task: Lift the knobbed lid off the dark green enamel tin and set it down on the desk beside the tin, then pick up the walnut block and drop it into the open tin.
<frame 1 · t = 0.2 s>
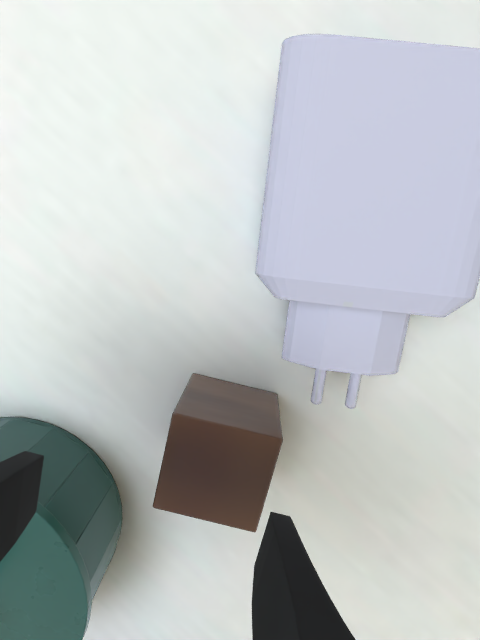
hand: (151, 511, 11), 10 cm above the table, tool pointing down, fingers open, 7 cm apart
tin: (27, 505, 23), on the table
charger: (345, 252, 19), on the table
block: (225, 421, 21), on the table
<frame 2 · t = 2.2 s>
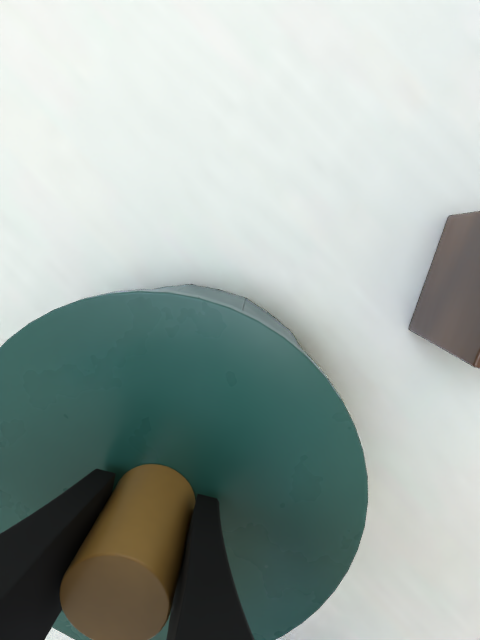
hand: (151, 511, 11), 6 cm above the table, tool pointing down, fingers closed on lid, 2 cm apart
tin: (189, 414, 17), on the table
lid: (159, 489, 12), point 5 cm above the table, touching gripper, tin
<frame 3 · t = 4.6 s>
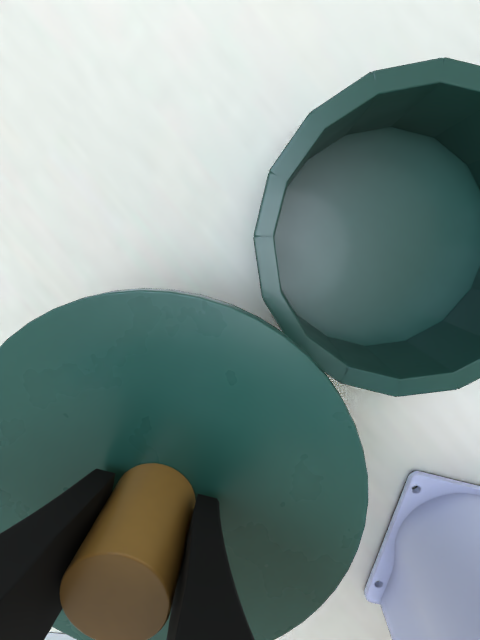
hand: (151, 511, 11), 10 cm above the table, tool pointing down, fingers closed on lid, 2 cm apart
tin: (374, 243, 19), on the table
lid: (159, 488, 12), point 9 cm above the table, touching gripper
when the fingers open (2 cm above the table, at t = 7.1 s): lid stays where it is, point 1 cm above the table.
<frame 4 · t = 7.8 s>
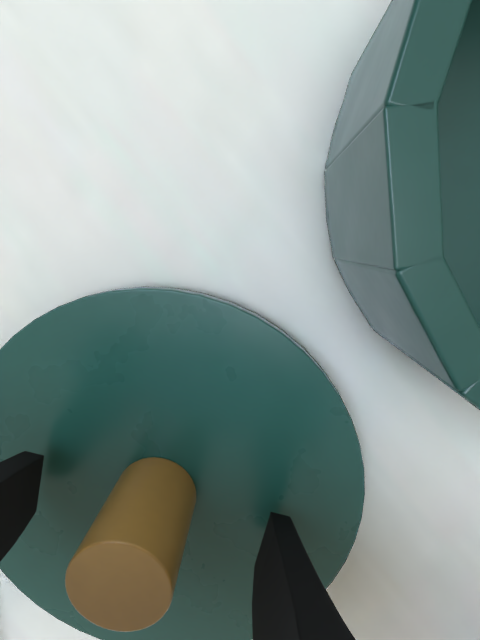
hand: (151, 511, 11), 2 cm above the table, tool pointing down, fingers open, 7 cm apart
lid: (161, 482, 12), point 1 cm above the table
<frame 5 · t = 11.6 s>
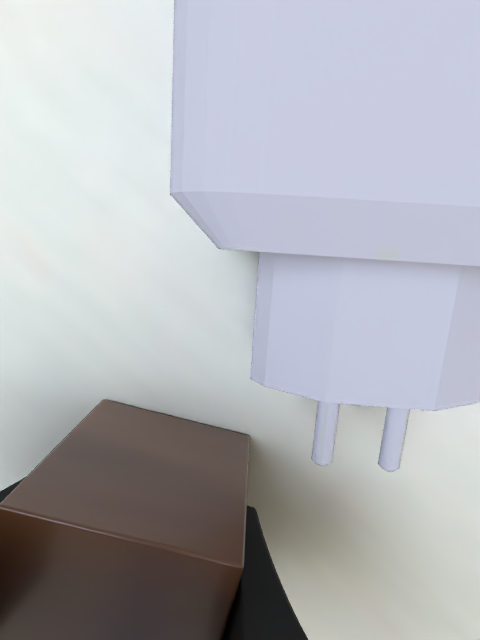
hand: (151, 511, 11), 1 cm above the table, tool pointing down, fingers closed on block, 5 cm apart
charger: (364, 176, 10), on the table
block: (162, 481, 12), on the table, touching gripper
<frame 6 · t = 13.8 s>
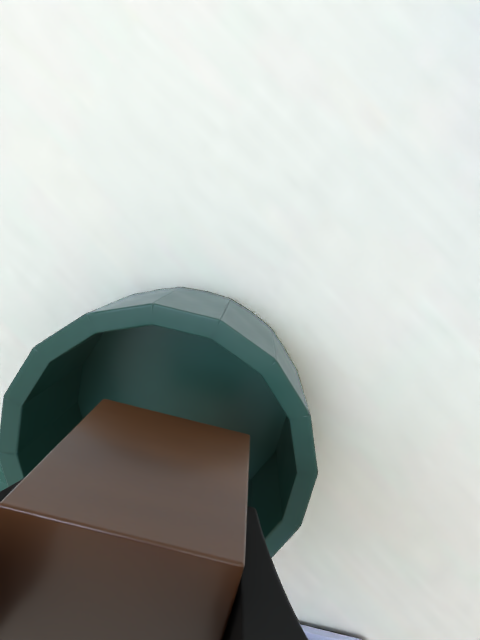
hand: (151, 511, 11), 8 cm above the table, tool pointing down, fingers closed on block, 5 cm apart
tin: (182, 403, 19), on the table
block: (162, 480, 12), point 7 cm above the table, touching gripper
when the fingers open (2 cm above the table, at t = 16.2 s): block stays where it is, resting on tin.
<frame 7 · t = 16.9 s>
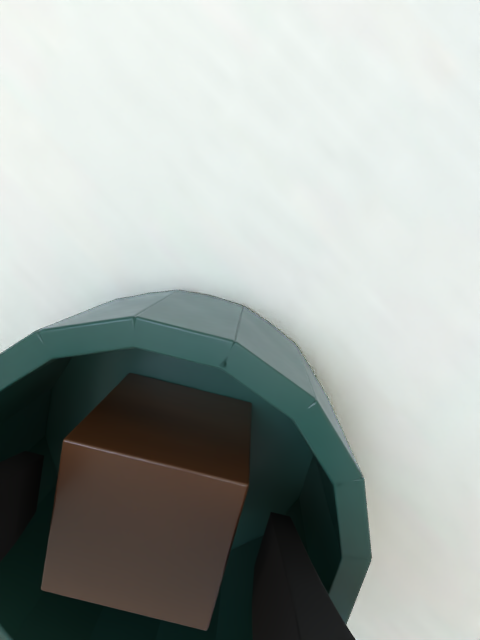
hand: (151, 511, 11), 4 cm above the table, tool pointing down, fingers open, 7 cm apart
tin: (180, 438, 15), on the table
block: (178, 442, 15), resting on tin
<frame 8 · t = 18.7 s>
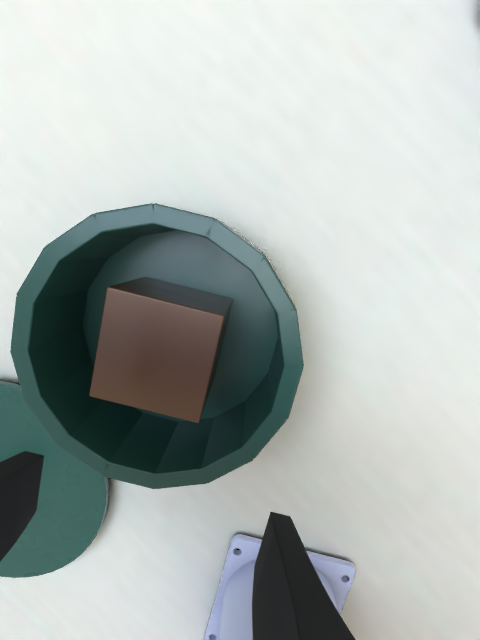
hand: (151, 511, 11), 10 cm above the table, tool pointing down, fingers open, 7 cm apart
tin: (180, 329, 21), on the table
lid: (3, 480, 23), point 1 cm above the table
block: (179, 330, 20), resting on tin
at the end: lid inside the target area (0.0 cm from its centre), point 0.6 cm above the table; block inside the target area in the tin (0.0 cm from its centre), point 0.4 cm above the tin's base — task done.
